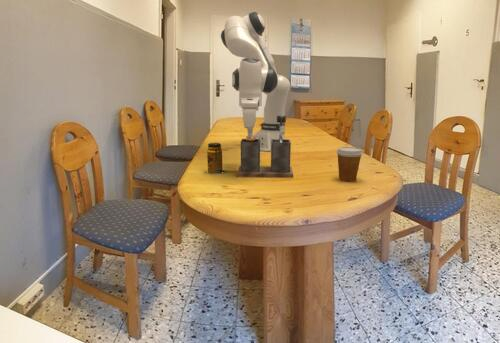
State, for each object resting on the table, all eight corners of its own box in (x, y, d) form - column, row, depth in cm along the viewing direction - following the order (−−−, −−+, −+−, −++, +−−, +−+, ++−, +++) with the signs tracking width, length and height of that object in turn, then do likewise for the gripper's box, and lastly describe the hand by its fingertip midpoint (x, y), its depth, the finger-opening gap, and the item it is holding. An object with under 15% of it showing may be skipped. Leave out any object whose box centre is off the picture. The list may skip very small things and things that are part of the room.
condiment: (203, 172, 153) (202, 143, 150) (217, 168, 160) (217, 141, 157) (215, 175, 149) (215, 145, 146) (230, 171, 155) (230, 143, 152)
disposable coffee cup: (340, 175, 150) (342, 145, 147) (363, 178, 144) (366, 148, 141) (330, 180, 142) (332, 149, 139) (355, 184, 137) (357, 152, 134)
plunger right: (273, 148, 146) (274, 116, 143) (273, 145, 151) (274, 115, 148) (287, 148, 146) (288, 116, 143) (287, 145, 151) (287, 115, 148)
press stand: (237, 176, 146) (237, 143, 143) (239, 169, 158) (239, 137, 155) (293, 177, 145) (294, 143, 142) (291, 170, 157) (292, 138, 154)
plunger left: (243, 168, 149) (243, 137, 146) (244, 164, 154) (244, 135, 151) (257, 168, 149) (257, 137, 145) (257, 165, 154) (257, 135, 151)
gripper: (244, 99, 155) (243, 132, 158) (240, 103, 135) (240, 140, 139) (259, 99, 155) (258, 132, 158) (257, 103, 135) (257, 141, 138)
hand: (250, 136), depth 148 cm, fingers closed, pressing on plunger left
